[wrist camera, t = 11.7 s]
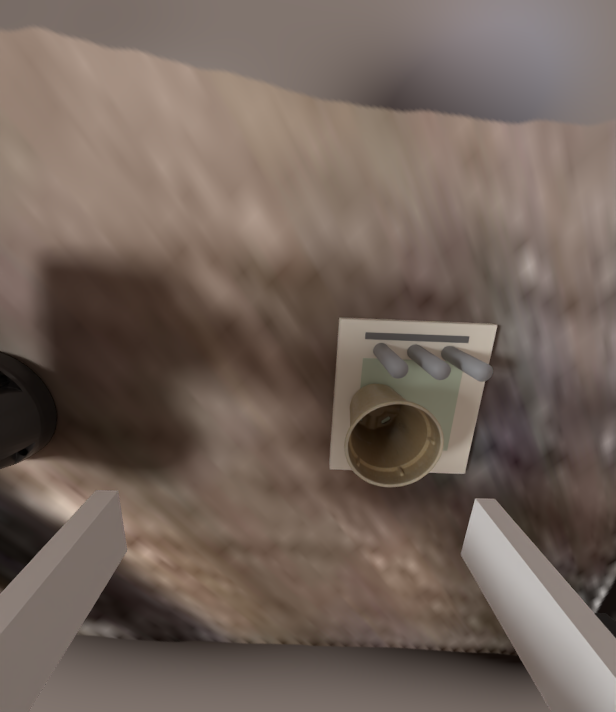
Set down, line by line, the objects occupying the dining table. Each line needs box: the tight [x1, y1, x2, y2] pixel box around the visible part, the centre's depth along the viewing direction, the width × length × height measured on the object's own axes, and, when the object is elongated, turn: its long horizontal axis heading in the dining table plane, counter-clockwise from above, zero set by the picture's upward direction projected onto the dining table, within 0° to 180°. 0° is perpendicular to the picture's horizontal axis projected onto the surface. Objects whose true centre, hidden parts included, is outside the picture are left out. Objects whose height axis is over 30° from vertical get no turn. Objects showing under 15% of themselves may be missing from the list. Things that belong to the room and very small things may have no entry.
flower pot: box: [344, 384, 444, 487], centre depth 32 cm, size 9×9×9 cm
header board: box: [329, 317, 497, 474], centre depth 33 cm, size 18×20×8 cm
